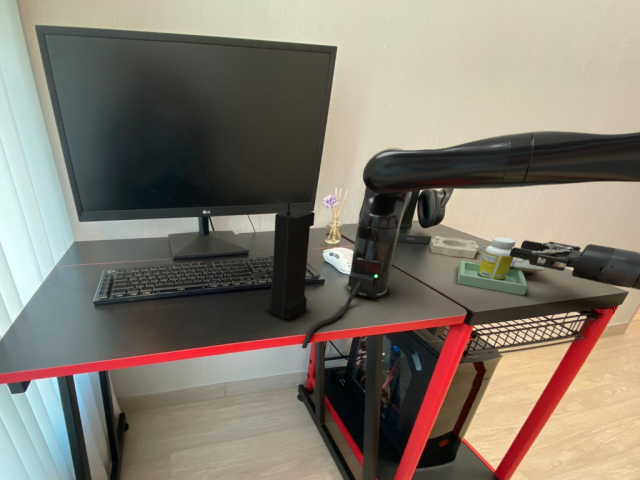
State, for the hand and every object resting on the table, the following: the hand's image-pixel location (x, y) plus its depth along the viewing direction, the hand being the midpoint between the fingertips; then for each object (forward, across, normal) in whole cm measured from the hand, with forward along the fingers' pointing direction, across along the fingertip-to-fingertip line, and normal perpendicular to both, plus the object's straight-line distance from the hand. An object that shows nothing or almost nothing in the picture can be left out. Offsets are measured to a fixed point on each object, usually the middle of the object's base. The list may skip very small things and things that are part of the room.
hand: (516, 247), depth 80 cm
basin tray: (+3, 0, +10) cm, 11 cm away
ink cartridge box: (-4, -13, +6) cm, 15 cm away
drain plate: (+20, -19, +10) cm, 29 cm away
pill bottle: (+3, 0, +10) cm, 10 cm away
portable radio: (+26, +53, +10) cm, 60 cm away
